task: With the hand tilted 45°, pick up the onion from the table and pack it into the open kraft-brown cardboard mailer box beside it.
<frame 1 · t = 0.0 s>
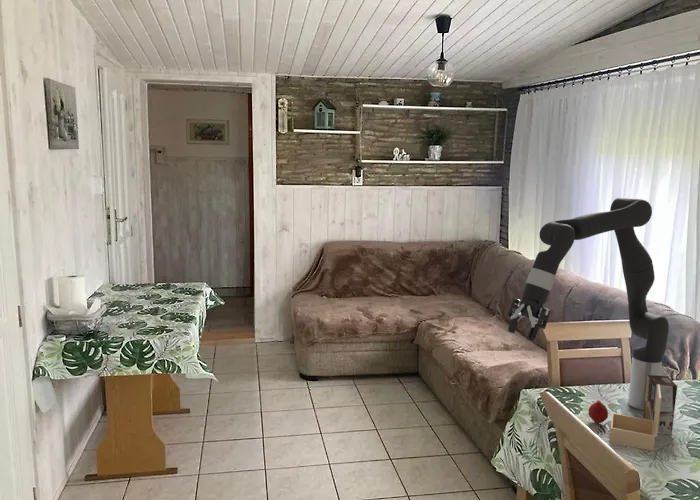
hand: (520, 336, 175), 31 cm above the table, tool tilted 20°, fingers open, 8 cm apart
mailer box: (631, 437, 179), on the table
coffee box: (657, 428, 186), on the table
onion: (597, 424, 188), on the table
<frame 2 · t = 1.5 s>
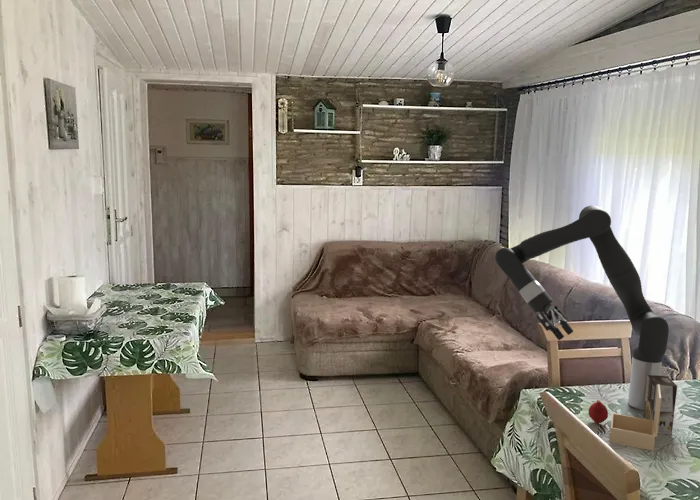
hand: (566, 335, 193), 27 cm above the table, tool tilted 45°, fingers open, 8 cm apart
nothing on the table moved.
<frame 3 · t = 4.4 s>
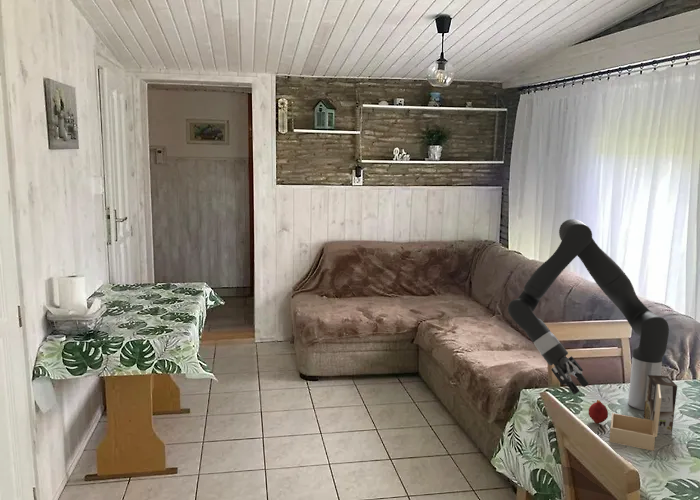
hand: (581, 389, 191), 10 cm above the table, tool tilted 45°, fingers open, 8 cm apart
nothing on the table moved.
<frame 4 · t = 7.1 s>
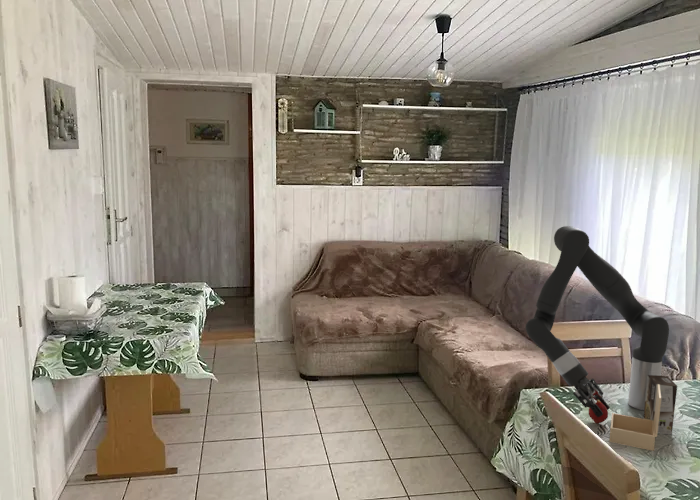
hand: (604, 412, 186), 4 cm above the table, tool tilted 45°, fingers closed on onion, 5 cm apart
onion: (597, 424, 188), on the table, touching gripper
everything else where it was.
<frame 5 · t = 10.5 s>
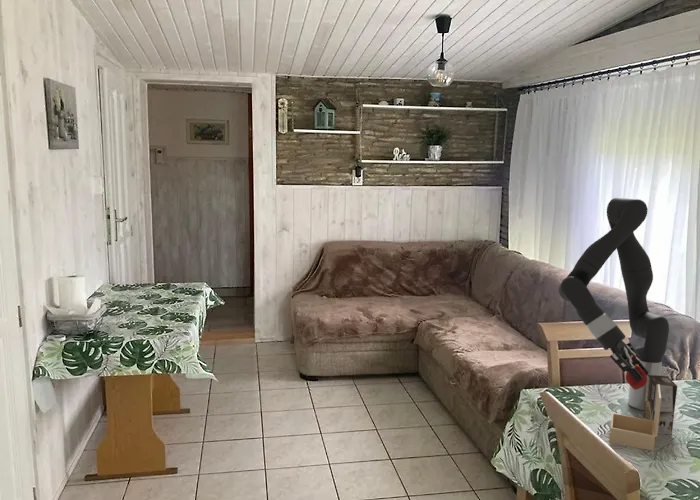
hand: (642, 377, 175), 20 cm above the table, tool tilted 45°, fingers closed on onion, 5 cm apart
onion: (635, 390, 176), point 15 cm above the table, touching gripper
everything else where it was.
when the fingers open (6 cm above the table, at t = 14.0 s): onion stays where it is, resting on mailer box.
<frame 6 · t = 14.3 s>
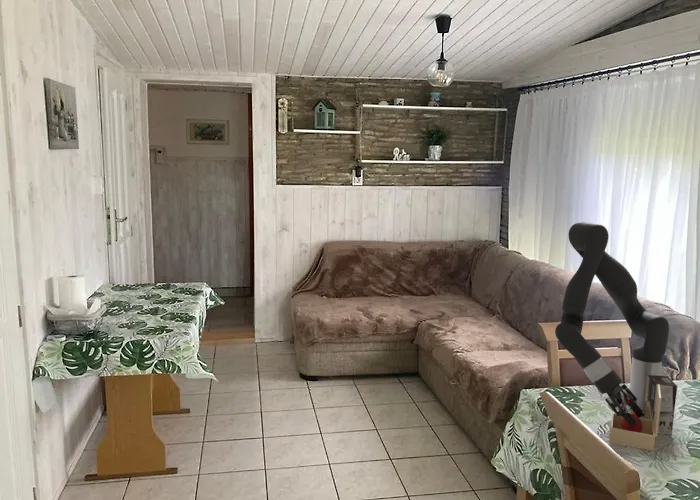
hand: (638, 420, 177), 6 cm above the table, tool tilted 45°, fingers open, 8 cm apart
onion: (630, 437, 179), resting on mailer box
everything else where it was.
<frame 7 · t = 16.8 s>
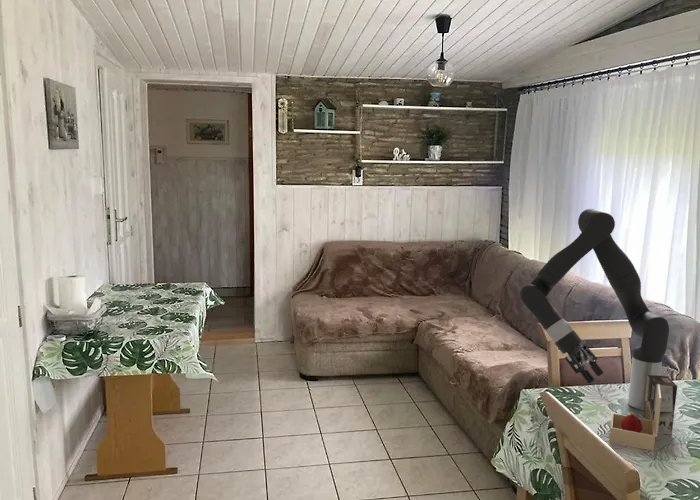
hand: (596, 378, 184), 16 cm above the table, tool tilted 45°, fingers open, 8 cm apart
nothing on the table moved.
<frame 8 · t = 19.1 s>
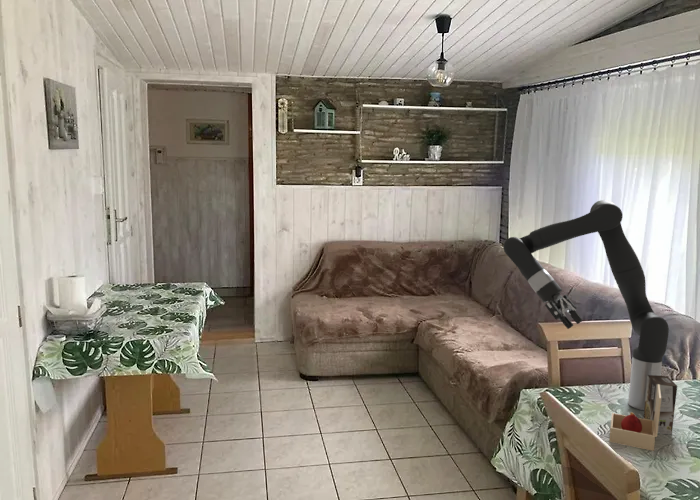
hand: (575, 324, 192), 31 cm above the table, tool tilted 45°, fingers open, 8 cm apart
nothing on the table moved.
at the end: onion inside the target area on the mailer box (0.4 cm from its centre), point 0.1 cm above the mailer box's base; the gripper is holding nothing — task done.
